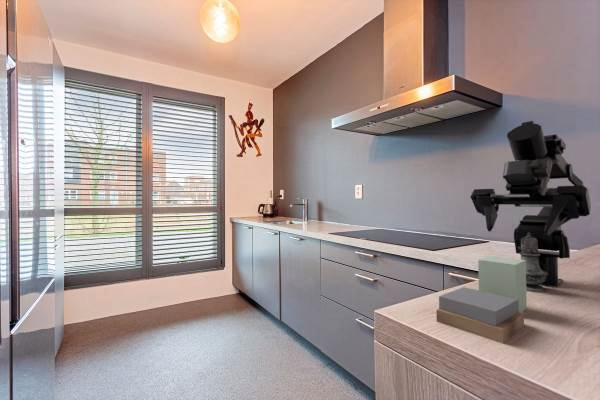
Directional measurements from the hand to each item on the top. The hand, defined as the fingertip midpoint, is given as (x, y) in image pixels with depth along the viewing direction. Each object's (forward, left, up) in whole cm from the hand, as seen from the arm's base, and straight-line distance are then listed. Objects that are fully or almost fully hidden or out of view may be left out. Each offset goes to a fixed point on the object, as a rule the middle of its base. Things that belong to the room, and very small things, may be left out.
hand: (515, 231), depth 55 cm
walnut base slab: (+18, 0, -13) cm, 22 cm away
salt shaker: (-10, 0, -13) cm, 16 cm away
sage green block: (+7, 0, -13) cm, 15 cm away
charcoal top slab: (+18, 0, -11) cm, 21 cm away
